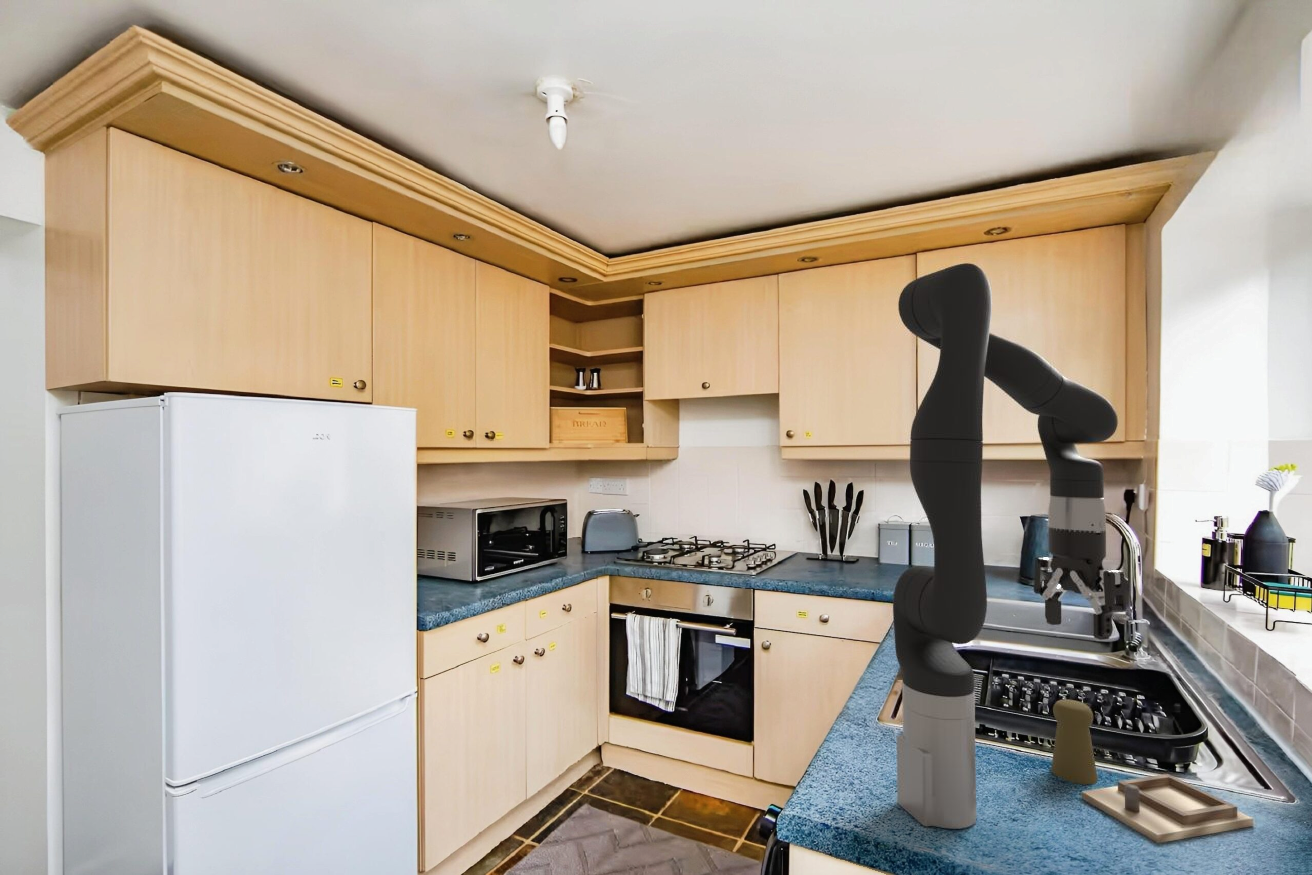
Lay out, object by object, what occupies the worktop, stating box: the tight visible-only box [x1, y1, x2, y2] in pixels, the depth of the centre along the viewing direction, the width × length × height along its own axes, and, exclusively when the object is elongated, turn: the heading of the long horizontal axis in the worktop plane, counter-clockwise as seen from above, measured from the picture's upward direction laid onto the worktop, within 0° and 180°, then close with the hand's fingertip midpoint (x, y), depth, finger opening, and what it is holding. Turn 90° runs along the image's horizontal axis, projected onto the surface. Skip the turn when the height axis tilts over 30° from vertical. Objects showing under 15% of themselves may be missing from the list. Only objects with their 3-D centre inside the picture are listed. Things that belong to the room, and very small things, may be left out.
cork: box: [1050, 698, 1099, 785], centre depth 99 cm, size 6×6×11 cm
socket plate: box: [1081, 773, 1254, 844], centre depth 89 cm, size 16×11×4 cm
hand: (1076, 631), depth 100 cm, fingers open, 8 cm apart
